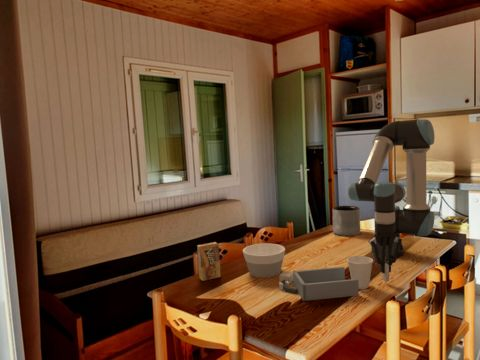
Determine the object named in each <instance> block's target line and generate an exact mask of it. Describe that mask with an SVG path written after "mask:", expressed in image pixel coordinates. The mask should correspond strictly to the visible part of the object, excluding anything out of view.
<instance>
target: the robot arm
mask: <svg viewBox="0 0 480 360" xmlns="http://www.w3.org/2000/svg"><path fill="white" fill-rule="evenodd" d="M434 143H435V130H434V127H433V124H432V121H430V120H429V119H425V118H424V119H419V118H418V119H409V120H408V119H407V120H395V121H394V120H393V121H391V122H389V123H387V124H386V125H384V126H383V127H382V128H381V129H380V130H378V132H377V133H376V135H375V136H374V138H373V140H372V148H371V151H370V153H369V155H368V157H367V159H366V161H365V164H364V167H363V169H362V170H361V174H360V175H359V178H358V180H357V182H353V183H350V184H349V185H348V189H347V195H348V198H349V199H350V200H351V201H355V202H357V201H358V202H372V203H374V216H373V218H374V235H373V238H372V239H369V240H368V243H369V244H370V246H371V248H370V249H371V253H372V255H373V260H375V261H374V262H375V263H377V265H379V269H380V272H381V273H382V277H381V278H382V280H383V281H384V282H390V273H391V272H392V266H393V264H395V263H396V262H397V259H398V257H400V256H402V255H403V256H404V254H405V249H404V245H403V243H402V241H403V240H402V238H401V236H400V235H411V236H418V237H420V236H421V237H427V236H428V237H429V235H430V234H431V233H432V232H433V231H432V230H433V228H434V224H435V218H436V217H435V213H434V211H431V207H430V205H429V204H428V203H427V152H428V151H429V150H431V146H432V145H434ZM397 146H402V151H403V152H405V161H406V163H405V166H406V167H405V171H406V172H405V175H406V179H405V182H406V185H405V187H406V189H405V187H404V186H403V185H402V184H400V183H394V182H390V181H381V182H378V180H379V177H380V175H381V172H382V169H383V168H384V165H385V163H386V160H387V158H388V155H389V152H391V151H392V150H393V148H395V147H397ZM405 196H406V198H405ZM404 198H405V199H406V203H405V204H404V205H403V206H402V209H401V208H400V205H396V203H399V202H401V201H402V200H403V199H404Z"/></svg>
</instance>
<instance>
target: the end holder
mask: <svg viewBox="0 0 480 360" xmlns="http://www.w3.org/2000/svg"><path fill="white" fill-rule="evenodd" d="M345 271H346V270H345V266H334V267H326V268H325V267H321V268H314V269H313V268H311V269H302V270H293V271H292V273H293V281H292V283H293V288H296V289H298V292H297V294H299V296H300V298H301V299H302V301H303V302H305V301H307V302H308V301H316V300H326V299H327V300H328V299H335V298H346V297H354V296H355V297H357V296H359V295H360V294H359V292H360V291H359V290H360V289H359V284H358V279H351V278H350V279H346V275H345V273H346V272H345Z"/></svg>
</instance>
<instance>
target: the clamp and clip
mask: <svg viewBox="0 0 480 360" xmlns="http://www.w3.org/2000/svg"><path fill="white" fill-rule="evenodd" d="M278 276H279V282H278V289H280V291H284V289H283V283H281V282H282V281H283V280H287V281H285V284H286V285H287V286H288V287H291V285H290V284H291V283H293V272H288V271H283V272H282V273H280V274H279V275H278Z"/></svg>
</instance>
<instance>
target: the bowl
mask: <svg viewBox="0 0 480 360" xmlns="http://www.w3.org/2000/svg"><path fill="white" fill-rule="evenodd" d="M242 254H243V256H244V259H245V263H246V266H247V269H248V272H249V275H250V276H252V277H254V278H259V277H260V278H261V279H262V278H264V279H266V278H267V279H268V278H273V277H276V276H279V275H280V274H281V271H282V267H283V263H284V259H285V255H286V248H285V246H284V245H281V244H277V243H256V244H255V243H254V244H252V245H251V244H250V245H247V246H245V247H243V249H242Z"/></svg>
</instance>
